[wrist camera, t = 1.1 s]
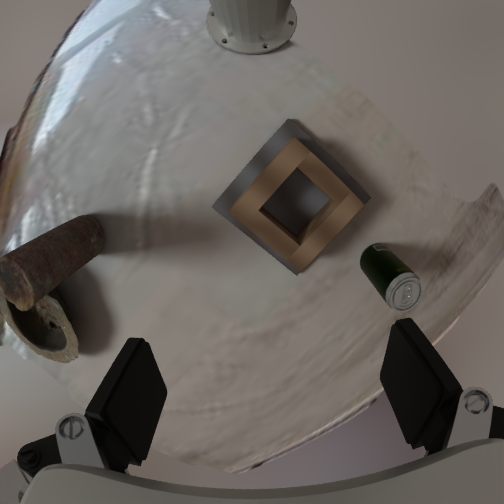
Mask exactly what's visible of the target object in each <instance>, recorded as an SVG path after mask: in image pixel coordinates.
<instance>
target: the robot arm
mask: <svg viewBox="0 0 504 504" xmlns="http://www.w3.org/2000/svg"><path fill="white" fill-rule="evenodd" d="M209 1H210V4H211V7H210V9H209V11H208V13H207V18H206V24H207V29H208V31H209V33H210V35H211V37H212V39H213V40H214V41H215V42H216V43H217V44H219V45H220V46H222V47H223V48H225V49H227V50H229V51H232V52H235V53H239V54H247V55H255V54H263V53H267V52H270V51H273V50H275V49H277V48H279V47H281V46H282V45H284V44H285V43H286V42H287V41H288V40H289V39H290V38H291V37H292V35H293V33H294V31H295V28H296V24H297V16H296V12H295V10H294V7H293V6H292V5H291V3H290V2H291V0H209ZM213 15H214V16H213ZM289 24H291V25H289ZM224 42H227V43H225V44H224ZM263 47H267V48H266V49H265V48H263ZM380 381H381V383H382V385H383V388H384V390H385V392H386V395H387V397H388V399H389V401H390V404H391V406H392V408H393V411H394V413H395V415H396V418H397V420H398V423H399V425H400V428H401V430H402V433H403V435H404V438H405V440H406V442H407V443H408V444H411V446H412V449H416V448H418V447H421V446H424V447H425V450H426V453H425V455H424V457H423V458H421V459H418V460H415V461H412V462H409V463H406V464H403V465H400V466H397V467H393V468H390V469H387V470H383V471H380V472H376V473H372V474H368V475H365V476H360V477H356V478H351V479H347V480H341V481H336V482H330V483H323V484H318V485H309V486H300V487H289V488H275V489H223V488H207V487H197V486H188V485H180V484H173V483H167V482H162V481H156V480H151V479H146V478H141V477H136V476H132V475H130V474H129V472H128V470H127V468H128V465H129V464H133V465H137V466H141V463H142V460H146V458H147V455H148V452H149V449H150V446H151V443H152V440H153V436H154V433H155V430H156V427H157V424H158V421H159V418H160V415H161V412H162V409H163V406H164V403H165V400H166V397H167V388H166V386H165V383H164V381H163V378H162V376H161V373H160V371H159V368H158V366H157V363H156V361H155V358H154V355H153V353H152V350H151V347H150V345H149V343H148V342H145V340H144V339H143V338H129V339H128V340H127V341H126V343H125V345H124V346H123V348H122V349H121V351H120V353H119V354H118V356H117V357H116V359H115V361H114V362H113V364H112V366H111V367H110V369H109V371H108V372H107V374H106V376H105V377H104V379H103V381H102V382H101V384H100V386H99V388H98V389H97V391H96V393H95V394H94V396H93V398H92V400H91V402H90V403H89V405H88V407H87V409H86V413H85V415H84V416H83V415H81V414H79V413H71V414H67V415H65V416H63V417H62V418H61V419H60V420H59V421H58V423H57V425H56V428H55V430H56V433H55V434H53V435H50V436H48V437H45V438H43V439H40V440H37V441H34V442H31V443H29V444H26V445H24V446H23V447H22V448H21V449H20V451H19V452H18V456H17V461H16V460H14V459H13V460H12V461H11V462H9V463H8V464H6V465H5V466H4V467H2V468H1V469H0V504H504V408H501V407H497V406H493V400H492V397H491V395H490V394H489V393H488V392H487V391H486V390H484V389H482V388H480V387H470V388H468V389H466V390H464V391H463V389H462V388H461V385H460V384H459V382H458V381H457V379H456V378H455V376H454V375H453V373H452V372H451V370H450V369H449V368H448V366H447V365H446V363H445V362H444V361H443V359H442V358H441V356H440V355H439V354H438V352H437V351H436V350H435V348H434V347H433V346H432V344H431V343H430V342H429V340H428V339H427V338H426V336H425V335H424V334H423V332H422V331H421V330H420V329H419V327H418V326H417V325H416V323H415V322H414V321H413V320H412V319H411V318H405V319H400V320H397V321H396V322H395V324H393V325H392V327H391V331H390V336H389V340H388V345H387V349H386V353H385V357H384V361H383V365H382V369H381V372H380Z"/></svg>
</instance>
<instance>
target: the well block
mask: <svg viewBox="0 0 504 504" xmlns="http://www.w3.org/2000/svg"><path fill="white" fill-rule="evenodd" d="M370 199H371V197H370V196H369V195H368V194H367V193H366V192H365V191H364V189H363V188H362V187H361V186H360V185H359V184H358V183H357V182H356V181H355V180H354V179H353V178H352V177H351V176H350V175H349V174H348V173H347V172H346V171H345V170H344V169H343V168H342V167H341V166H340V165H339V164H338V163H337V162H336V161H335V160H334V159H333V158H332V157H331V156H330V155H329V154H328V153H327V152H326V151H325V150H324V149H323V148H322V147H321V146H319V145H318V144H317V143H316V142H315V141H314V140H313V139H312V138H311V137H310V136H309V135H307V134H306V133H305V132H304V131H303V130H302V129H301V128H299V127H298V126H297V125H296V124H295V123H294V122H293V121H291V120H290V119H288V120H287V121H286V122H285V123H284V124H283V125H282V126H281V127H280V128H279V129H278V130H277V132H276V133H275V134H274V135H273V136H272V137H271V138H270V139H269V140H268V142H267V143H266V144H265V145H264V146H263V147H262V148H261V149H260V151H259V152H258V153H257V154H256V155H255V156H254V157H253V159H252V160H251V161H250V162H249V163H248V164H247V165H246V167H245V168H244V169H243V170H242V171H241V172H240V174H239V175H238V176H237V177H236V178H235V180H234V181H233V182H232V183H231V184H230V185H229V187H228V188H227V189H226V190H225V192H224V193H223V194H222V195H221V196H220V198H219V199H218V200H217V201H216V202H215V204H214V205H213V206H212V208H214V209H215V210H216V211H217V212H219V213H220V214H221V215H222V216H224V217H225V218H226V219H227V220H229V221H230V222H231V223H232V224H234V225H235V226H236V227H237V228H238V229H240V230H241V231H242V232H243V233H245V234H246V235H247V236H248V237H250V238H251V239H252V240H253V241H255V242H256V243H257V244H258V245H260V246H261V247H262V248H263V249H265V250H266V251H267V252H268V253H269V254H271V255H272V256H273V257H274V258H276V259H277V260H278V261H279V262H281V263H282V264H283V265H284V266H285V267H287V268H288V269H289V270H290V271H292V272H293V273H294V274H295V275H296V276H297V275H298V274H299V273H300V272H301V271H302V270H303V269H304V268H305V267H306V266H307V265H308V264H309V263H310V262H311V261H312V260H313V259H314V258H315V257H316V256H317V255H318V254H319V253H320V252H321V251H322V250H323V249H324V248H325V247H326V246H327V245H328V244H329V243H330V241H331V240H332V239H333V238H334V237H335V236H336V235H337V234H338V233H339V232H340V231H341V230H342V229H343V228H344V227H345V226H346V225H347V224H348V222H349V221H350V220H351V219H352V218H353V217H354V216H355V215H356V214H357V213H358V212H359V211H360V209H361V208H362V207H363V206H364V205H365V204H366V203H367V202H368V201H369V200H370Z"/></svg>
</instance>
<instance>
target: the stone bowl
mask: <svg viewBox="0 0 504 504" xmlns="http://www.w3.org/2000/svg"><path fill="white" fill-rule="evenodd" d="M0 314H1V315H4V317H5V320H6V322H7V324H8V325H9V326H10V327H11V329H12V330H13V331H14V332H15V333H16V335H17V336H18V337H19V338H20V339H21V340H22V341H23V342H24V343H25V344H26V345H28V347H29V348H31V349H32V350H34V352H36V353H37V354H39V355H42V356H43V357H45V358H47V359H51V360H53V361H58V362H62V363H69V362H71V361H72V360H75V359H76V358H78V354H79V351H78V344H79V342H78V339H77V337H76V335H75V333H74V331H73V328H72V326H71V321H70V318H69V314H68V312H67V309H66V307H65V305H64V303H63V302H62V300H61V298H60V297H59V296H58V294H57V292H56V291H55V289H53V290H52V291H50V292H49V293H48V294H47V295H46V296H45V297H43V298H42V299H41V300H40V301H39V302H38V303H36V304H35V305H34V306H33V307H32V308H31V309H29V310H27V311H21V310H19V309H18V308H17V307H16V305H15V304H13V303H12V302H10V301H9V300H8V299H7V298H6V297H5V296H4V295H3V293H2V291H1V290H0ZM52 328H53V329H52ZM70 360H71V361H70Z"/></svg>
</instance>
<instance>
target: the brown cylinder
mask: <svg viewBox="0 0 504 504" xmlns="http://www.w3.org/2000/svg"><path fill="white" fill-rule="evenodd" d="M103 244H104V235H103V232H102V230H101V228H100V226H99V225H98V223H97V222H96V221H95V220H94V218H92V217H89V216H84V215H82V216H79V217H76V218H74V219H72V220H70V221H68V222H66V223H64V224H61V225H60V226H58V227H56V228H54V229H52V230H50V231H48V232H46V233H44V234H42V235H40V236H38V237H37V238H35V239H33V240H31V241H29V242H27V243H25V244H24V245H22V246H20V247H18V248H17V249H15V250H13V251H11V252H9V253H8V254H6V255H4V256H3V257H1V258H0V290H1V291H2V293H3V295H4V296H5V297H6V298H7V299H8V300H9V301H10V302H12V303H13V304H15V305H16V307H17V308H18V309H19V310H21V311H27V310H29V309H31V308H32V307H33V306H34V305H35V304H36V303H38V302H39V301H40V300H41V299H42V298H43V297H45V296H46V295H47V294H48V293H49V292H50V291H52V290H53V289H54V288H55V287H57V286H58V285H59V284H60V283H61V282H63V281H64V280H65V279H66V278H68V277H69V276H70V275H71V274H73V273H74V272H75V271H77V270H78V269H80V268H81V267H82V266H83V265H85V264H86V263H88V262H89V261H90V260H92V259H93V258H94V257H96V256H97V255H98V254H99V253H100V251H101V250H102V247H103Z"/></svg>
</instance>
